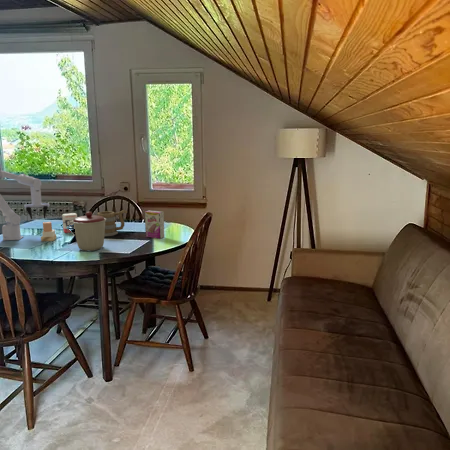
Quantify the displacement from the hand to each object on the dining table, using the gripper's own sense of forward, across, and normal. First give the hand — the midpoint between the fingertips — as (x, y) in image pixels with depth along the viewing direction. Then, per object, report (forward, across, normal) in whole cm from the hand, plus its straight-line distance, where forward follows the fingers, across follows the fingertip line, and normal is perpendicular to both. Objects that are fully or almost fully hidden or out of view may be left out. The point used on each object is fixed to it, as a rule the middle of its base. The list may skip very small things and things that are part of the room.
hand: (38, 218), depth 268 cm
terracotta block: (+5, +6, -16) cm, 18 cm away
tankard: (+11, +45, -12) cm, 47 cm away
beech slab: (+11, +7, -17) cm, 21 cm away
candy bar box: (+11, +69, -31) cm, 76 cm away
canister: (+11, +30, -47) cm, 57 cm away
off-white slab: (+8, +7, -17) cm, 20 cm away
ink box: (+11, +19, +3) cm, 22 cm away
